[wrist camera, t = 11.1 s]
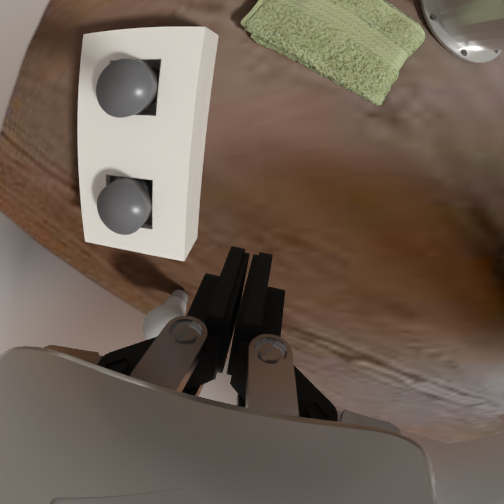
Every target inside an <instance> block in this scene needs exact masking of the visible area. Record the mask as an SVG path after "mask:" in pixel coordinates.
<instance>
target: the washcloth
mask: <svg viewBox="0 0 504 504" xmlns="http://www.w3.org/2000/svg"><path fill="white" fill-rule="evenodd" d="M241 25H242V26H243V27H244V30H245V31H248V32H250V33H251V37H250V38H252V39H253V40H254V41H255V42H256V43H258V44H261V45H262V46H264V47H265V48H269V49H273V50H275V51H277V52H278V53H280V54H282V55H285V56H287V57H289V58H290V59H293V60H294V61H296V60H297V61H298V62H299V63H300V64H302V65H304V66H306V67H308V68H309V69H311V70H314V71H316V72H317V73H319V74H320V75H322V76H323V77H326V78H329V79H330V80H332V81H333V82H334V83H336V84H341V86H343V87H344V88H346V89H347V90H348V91H351V92H354V93H355V94H357V95H359V96H360V97H362V98H364V99H366V100H368V101H370V102H371V103H373V104H375V105H376V106H377V105H381V104H382V102H383V100H384V99H385V97H386V95H387V94H388V92H389V91H390V88H391V84H393V83H394V82H395V81H396V79H397V78H398V75H399V69H400V68H401V67H402V65H403V63H404V62H405V60H406V59H407V57H410V56H411V55H412V54H413V52H415V50H416V49H417V48H418V47H419V46H421V43H422V42H423V41H424V38H425V32H424V31H423V29H422V28H421V25H420V24H419V23H418V22H415V21H414V20H413V19H412V18H411V17H409V16H406V15H405V14H404V13H402V12H401V11H400V10H399V9H397V8H395V7H394V6H393V4H390V3H389V2H387V1H385V0H259V1H258V2H257V3H256V4H255V6H254V7H253V8H252V10H251V11H250V12H249V13H248V14H247V15H246V16H245V17H244V18H243V19H242V21H241Z"/></svg>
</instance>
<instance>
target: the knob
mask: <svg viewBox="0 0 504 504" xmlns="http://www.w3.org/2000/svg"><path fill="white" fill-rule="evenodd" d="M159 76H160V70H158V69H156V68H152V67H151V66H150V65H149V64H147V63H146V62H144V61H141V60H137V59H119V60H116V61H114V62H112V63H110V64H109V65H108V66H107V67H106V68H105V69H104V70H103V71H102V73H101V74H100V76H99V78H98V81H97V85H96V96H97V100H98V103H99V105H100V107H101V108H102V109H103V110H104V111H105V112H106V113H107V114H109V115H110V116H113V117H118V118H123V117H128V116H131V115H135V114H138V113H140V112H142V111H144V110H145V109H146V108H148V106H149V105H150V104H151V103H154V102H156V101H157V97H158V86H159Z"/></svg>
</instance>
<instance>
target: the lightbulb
mask: <svg viewBox="0 0 504 504" xmlns="http://www.w3.org/2000/svg"><path fill="white" fill-rule="evenodd" d="M187 300H188V295H187V294H186V292H184V291H183V290H175V291H173V293H172V294H171V296H170V297H169V298H168V299H167V300H166V302H165V303H164V304H163V305H161V306H159V307H157V308H155V309H153V310H151V311H150V312H149V313H148V314H147V316H146V318H145V319H144V323H143V333H144V336H145V338H146V340H148V339H151V338H154V337H157V336H158V335H159V334H160V332H161V331H162V329H163V328H164V327H165V325H166V324H167V323H168V322H169V321H170V320H171V319H173V318H175V317H179V316H185V311H186V304H187Z"/></svg>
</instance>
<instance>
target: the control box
mask: <svg viewBox="0 0 504 504" xmlns="http://www.w3.org/2000/svg"><path fill="white" fill-rule="evenodd" d="M218 37H219V35H217V34H216V33H214V32H213V31H211V30H210V29H208V28H206V27H183V26H182V27H147V28H132V29H121V30H111V31H103V32H96V33H89V34H84V35H83V43H82V52H81V62H80V74H79V90H78V127H77V132H78V169H79V186H80V199H81V210H82V219H83V228H84V236H85V242H90V243H95V244H99V245H104V246H109V247H114V248H119V249H124V250H129V251H134V252H139V253H144V254H149V255H154V256H159V257H164V258H169V259H174V260H180V261H185V259H186V257H187V255H188V254H189V252H190V250H191V248H192V246H193V244H194V243H195V241H196V239H197V233H198V218H199V205H200V192H201V180H202V169H203V158H204V148H205V138H206V129H207V120H208V111H209V103H210V95H211V87H212V79H213V72H214V65H215V57H216V51H217V44H218ZM119 59H137V60H141V61H144V62H146V63H147V64H149V65H150V66H151V67H152V68H156V69H158V70H160V76H159V86H158V97H157V101H156V102H154V103H151V104H150V105H149V106H148V108H146V109H145V110H144V111H142V112H140V113H138V114H135V115H131V116H128V117H123V118H118V117H113V116H110V115H109V114H107V113H106V112H105V111H104V110H103V109H102V108H101V107H100V105H99V103H98V100H97V96H96V85H97V81H98V78H99V76H100V74H101V73H102V71H103V70H104V69H105V68H106V67H107V66H108V65H109V64H110V63H112V62H114V61H116V60H119ZM120 178H139V179H147V180H153V195H152V206H151V213H150V216H149V218H148V219H147V221H146V222H145V223H144V224H143V225H142V226H141V227H140V228H139V229H138V230H137V231H136V232H134V233H132V234H129V235H121V234H117V233H115V232H113V231H111V230H110V229H109V228H107V227H106V226H105V225H104V223H103V222H102V220H101V219H100V217H99V214H98V210H97V199H98V196H99V194H100V192H101V191H102V189H104V188H105V187H106V186H108V185H109V184H111V183H112V182H114V181H115V180H117V179H120Z"/></svg>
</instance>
